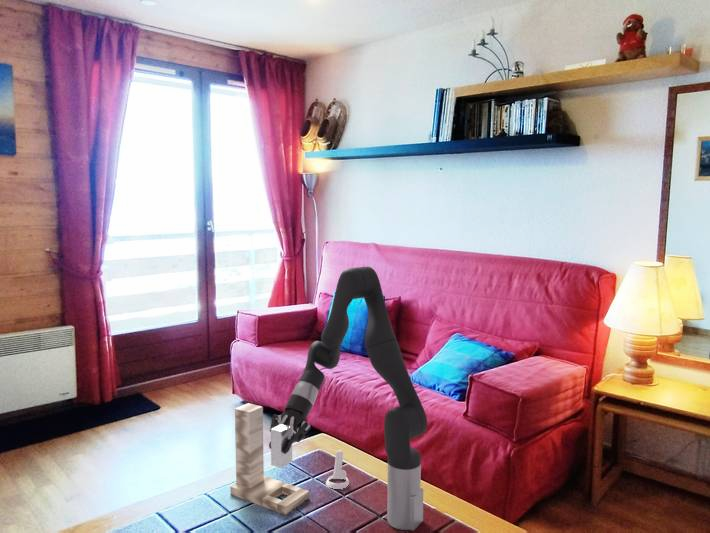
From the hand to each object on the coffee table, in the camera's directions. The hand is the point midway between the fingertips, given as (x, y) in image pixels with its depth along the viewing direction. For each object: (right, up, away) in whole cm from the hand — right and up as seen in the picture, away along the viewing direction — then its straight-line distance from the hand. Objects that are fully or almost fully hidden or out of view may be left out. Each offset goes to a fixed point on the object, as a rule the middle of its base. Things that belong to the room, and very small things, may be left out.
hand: (277, 450), depth 164 cm
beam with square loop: (-3, -16, +6) cm, 17 cm away
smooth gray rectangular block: (+1, -4, +2) cm, 5 cm away
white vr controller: (+17, -16, +14) cm, 27 cm away
